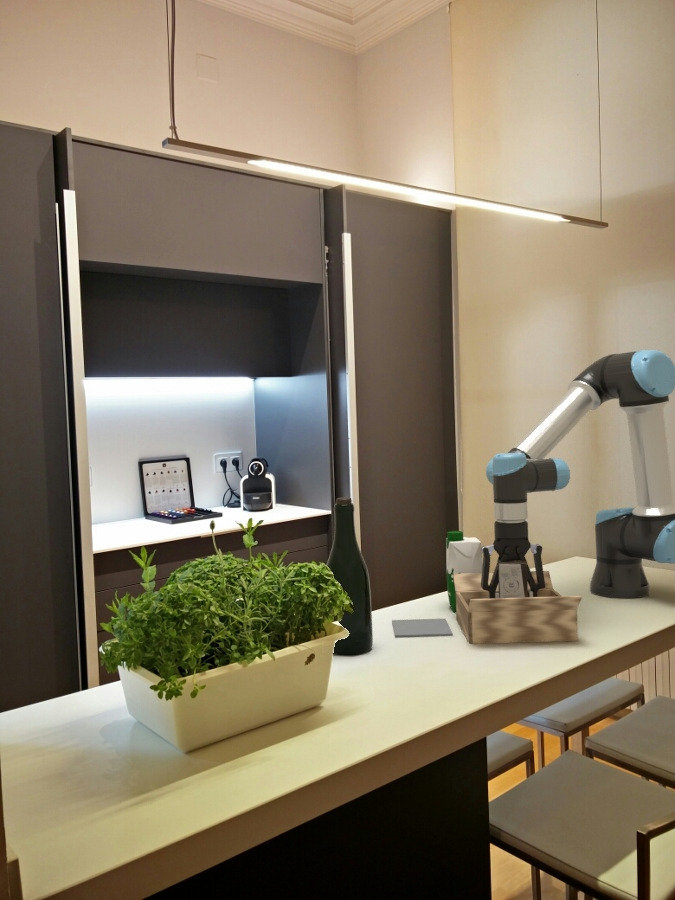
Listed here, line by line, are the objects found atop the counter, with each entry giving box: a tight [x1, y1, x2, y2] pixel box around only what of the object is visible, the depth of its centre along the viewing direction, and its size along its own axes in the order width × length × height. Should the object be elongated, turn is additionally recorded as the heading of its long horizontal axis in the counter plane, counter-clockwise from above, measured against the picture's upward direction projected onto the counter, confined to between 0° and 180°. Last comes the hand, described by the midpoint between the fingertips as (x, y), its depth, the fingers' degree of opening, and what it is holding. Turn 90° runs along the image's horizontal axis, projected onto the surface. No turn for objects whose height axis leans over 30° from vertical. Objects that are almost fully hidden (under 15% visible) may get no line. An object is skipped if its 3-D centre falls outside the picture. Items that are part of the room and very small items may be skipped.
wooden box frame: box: [453, 570, 583, 645], centre depth 174 cm, size 24×27×11 cm
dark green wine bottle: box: [326, 497, 374, 656], centre depth 163 cm, size 10×10×33 cm
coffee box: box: [498, 560, 528, 598], centre depth 174 cm, size 9×6×16 cm
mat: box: [391, 618, 454, 638], centre depth 177 cm, size 13×13×1 cm
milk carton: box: [445, 530, 483, 613], centre depth 194 cm, size 9×9×20 cm
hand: (513, 619), depth 174 cm, fingers closed on coffee box, 7 cm apart
